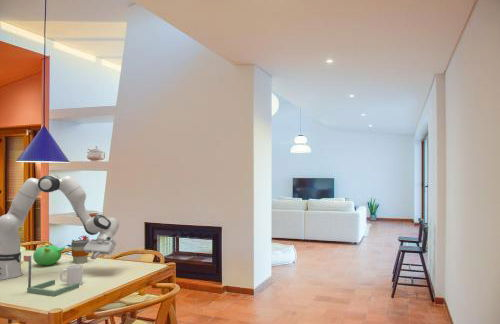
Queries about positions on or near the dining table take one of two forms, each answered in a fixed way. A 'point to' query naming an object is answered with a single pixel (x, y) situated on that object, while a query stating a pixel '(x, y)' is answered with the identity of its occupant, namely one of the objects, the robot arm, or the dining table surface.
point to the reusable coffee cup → (79, 251)
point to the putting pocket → (46, 284)
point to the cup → (73, 274)
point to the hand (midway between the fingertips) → (92, 258)
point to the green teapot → (47, 254)
